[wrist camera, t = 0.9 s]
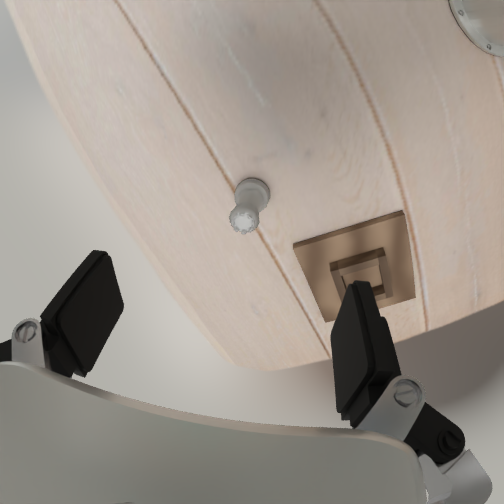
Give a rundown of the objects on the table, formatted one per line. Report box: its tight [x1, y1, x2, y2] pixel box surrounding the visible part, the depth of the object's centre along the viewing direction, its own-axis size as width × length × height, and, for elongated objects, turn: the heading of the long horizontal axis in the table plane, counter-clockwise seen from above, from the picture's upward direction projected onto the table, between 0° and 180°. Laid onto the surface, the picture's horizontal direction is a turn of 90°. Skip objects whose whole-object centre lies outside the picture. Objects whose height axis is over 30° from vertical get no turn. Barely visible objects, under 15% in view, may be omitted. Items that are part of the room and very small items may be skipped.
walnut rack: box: [293, 210, 416, 323], centre depth 40 cm, size 16×16×3 cm
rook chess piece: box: [229, 179, 270, 234], centre depth 34 cm, size 4×4×8 cm
